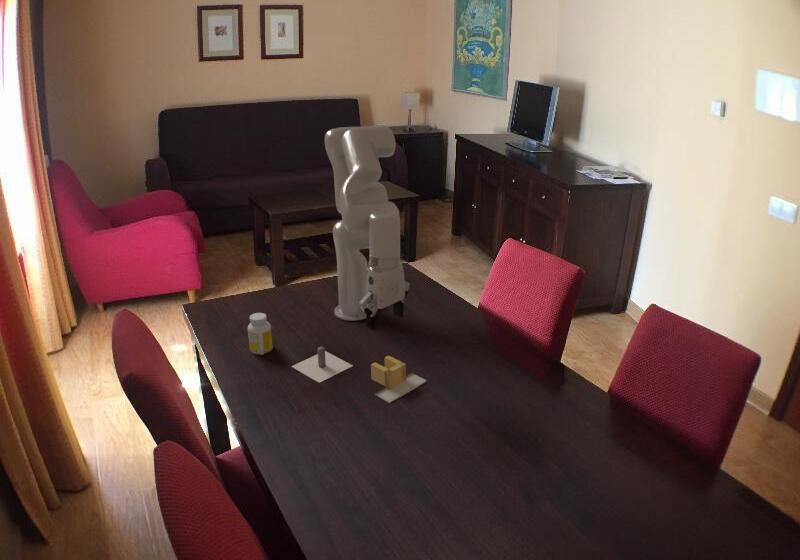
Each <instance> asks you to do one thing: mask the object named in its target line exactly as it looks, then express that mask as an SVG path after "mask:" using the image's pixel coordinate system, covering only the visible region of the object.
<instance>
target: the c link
mask: <svg viewBox="0 0 800 560" xmlns="http://www.w3.org/2000/svg"><path fill="white" fill-rule="evenodd" d="M406 375H407V363H404V362H402V361H401V360H398V359H396V358H394V357H393V356H390V355H387V356H385V357H384V365H381V364H379V363H377V362H373V363H371V364H370V376H371V377H370V379H371V380H372V381H374V382H376V383H378V384H380V385H381V386H384V388H386V389H388V390H390V389H392V388H393V387H395V386H397V385H399V384H400V383H402V382H404V381H406Z"/></svg>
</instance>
